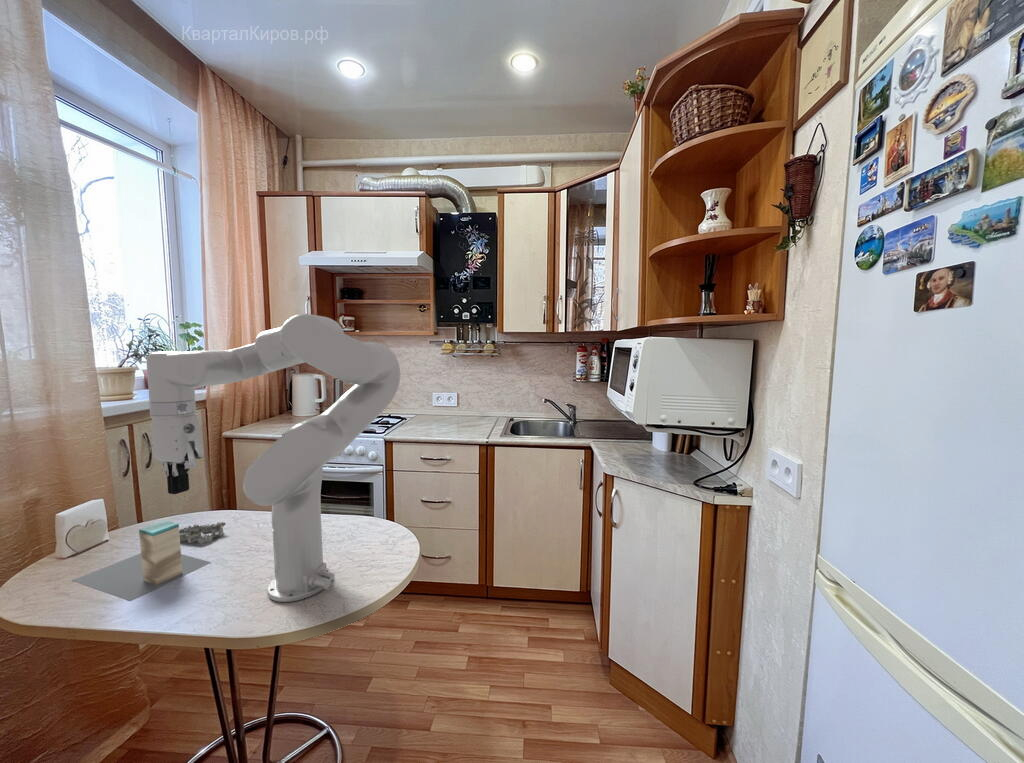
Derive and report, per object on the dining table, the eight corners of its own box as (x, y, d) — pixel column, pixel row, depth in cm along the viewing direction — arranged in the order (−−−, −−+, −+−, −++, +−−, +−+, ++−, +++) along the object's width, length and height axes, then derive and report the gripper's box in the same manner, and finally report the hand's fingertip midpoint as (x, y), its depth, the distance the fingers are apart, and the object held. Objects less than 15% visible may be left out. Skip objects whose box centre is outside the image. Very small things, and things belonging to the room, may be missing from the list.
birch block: (182, 572, 93) (178, 523, 92) (157, 584, 88) (152, 532, 87) (168, 568, 94) (164, 520, 93) (143, 580, 90) (138, 529, 89)
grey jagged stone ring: (228, 535, 113) (227, 522, 113) (202, 548, 106) (201, 533, 105) (198, 532, 115) (198, 518, 115) (171, 544, 108) (170, 529, 108)
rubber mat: (211, 564, 97) (211, 562, 97) (130, 603, 82) (130, 601, 82) (155, 549, 105) (155, 547, 105) (72, 582, 90) (72, 580, 90)
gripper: (215, 408, 86) (219, 490, 87) (171, 404, 91) (176, 482, 93) (175, 413, 79) (181, 502, 80) (130, 409, 84) (136, 493, 86)
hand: (178, 491), depth 87 cm, fingers closed
